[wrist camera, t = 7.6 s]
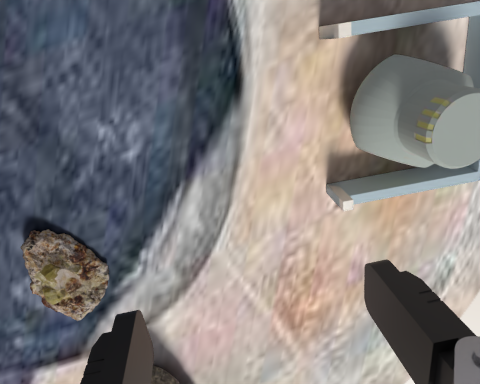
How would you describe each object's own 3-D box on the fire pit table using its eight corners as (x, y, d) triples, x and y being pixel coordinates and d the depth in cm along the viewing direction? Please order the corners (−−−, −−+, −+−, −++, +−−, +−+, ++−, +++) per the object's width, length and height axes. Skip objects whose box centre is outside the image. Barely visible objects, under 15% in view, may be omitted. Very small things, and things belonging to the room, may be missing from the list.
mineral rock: (127, 302, 36) (52, 344, 34) (125, 282, 40) (57, 319, 38) (73, 218, 32) (-16, 260, 30) (76, 205, 36) (-2, 242, 34)
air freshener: (327, 135, 34) (377, 168, 25) (360, 47, 31) (429, 48, 22) (420, 159, 36) (497, 198, 27) (459, 80, 33) (559, 93, 24)
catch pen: (318, 26, 30) (338, 23, 26) (481, 0, 31) (525, -7, 27) (326, 192, 36) (343, 211, 32) (460, 167, 37) (493, 182, 33)
